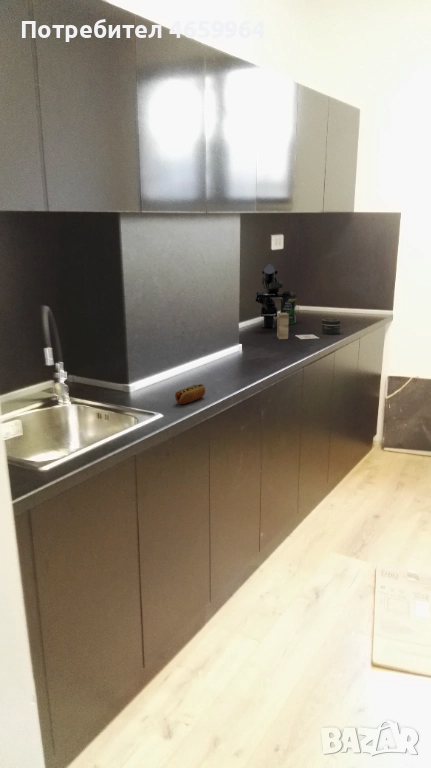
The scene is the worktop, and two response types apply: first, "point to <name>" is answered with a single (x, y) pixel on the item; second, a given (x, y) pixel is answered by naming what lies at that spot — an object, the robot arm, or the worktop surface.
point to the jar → (330, 326)
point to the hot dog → (190, 394)
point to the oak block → (282, 325)
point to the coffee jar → (290, 308)
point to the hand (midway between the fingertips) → (275, 308)
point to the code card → (306, 336)
